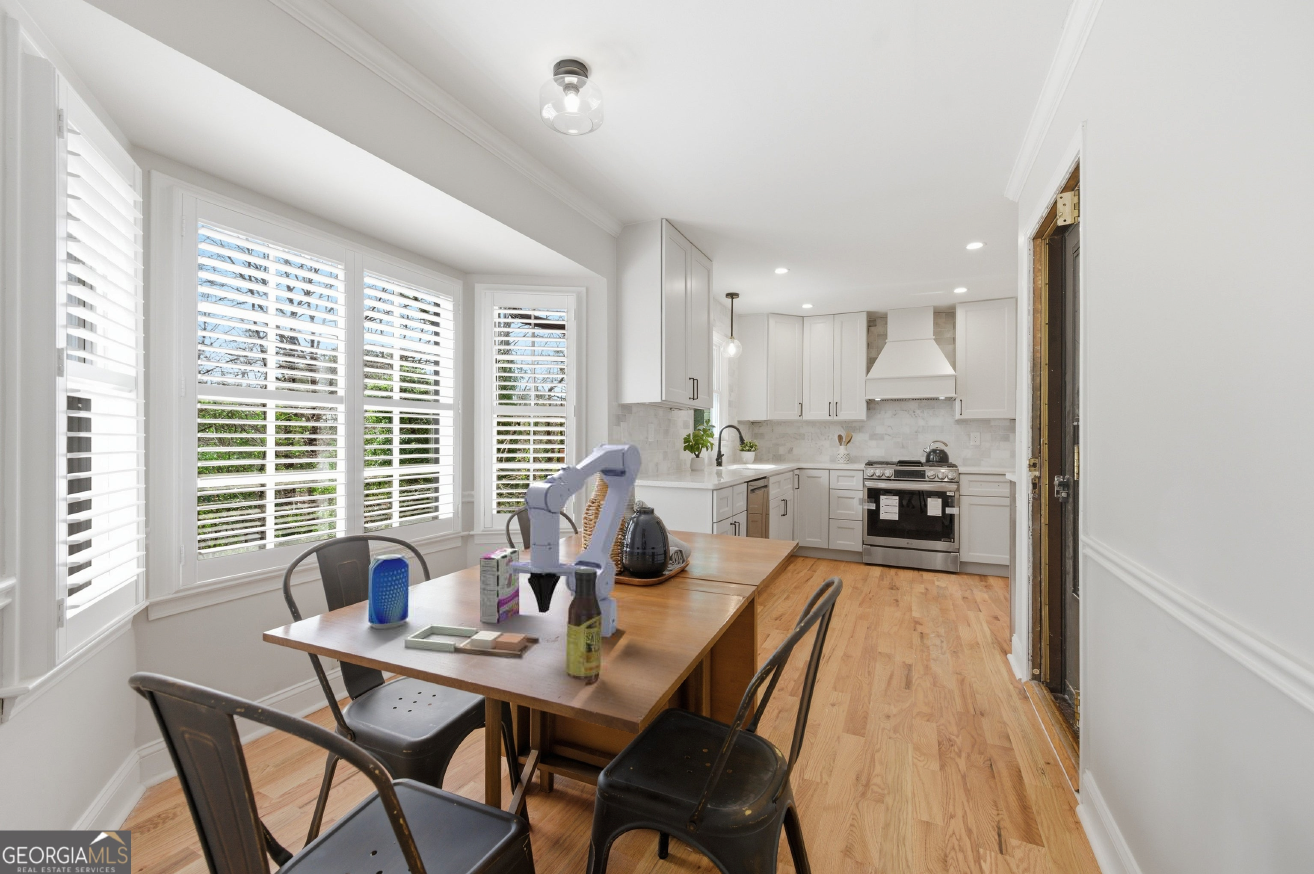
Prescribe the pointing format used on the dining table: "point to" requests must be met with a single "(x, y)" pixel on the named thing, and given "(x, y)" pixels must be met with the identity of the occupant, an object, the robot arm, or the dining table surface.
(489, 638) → the tile
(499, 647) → the tile
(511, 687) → the dining table surface
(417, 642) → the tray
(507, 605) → the candy bar box
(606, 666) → the dining table surface
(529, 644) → the board
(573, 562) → the robot arm
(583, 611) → the sauce bottle
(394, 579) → the beer can
